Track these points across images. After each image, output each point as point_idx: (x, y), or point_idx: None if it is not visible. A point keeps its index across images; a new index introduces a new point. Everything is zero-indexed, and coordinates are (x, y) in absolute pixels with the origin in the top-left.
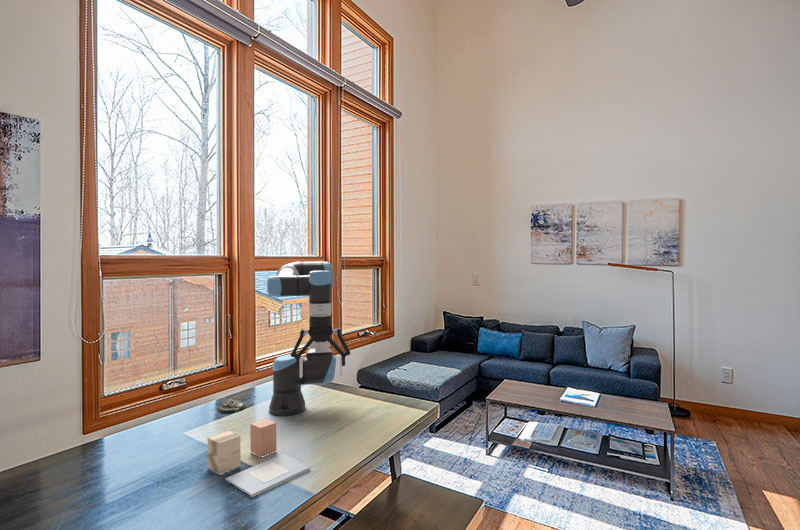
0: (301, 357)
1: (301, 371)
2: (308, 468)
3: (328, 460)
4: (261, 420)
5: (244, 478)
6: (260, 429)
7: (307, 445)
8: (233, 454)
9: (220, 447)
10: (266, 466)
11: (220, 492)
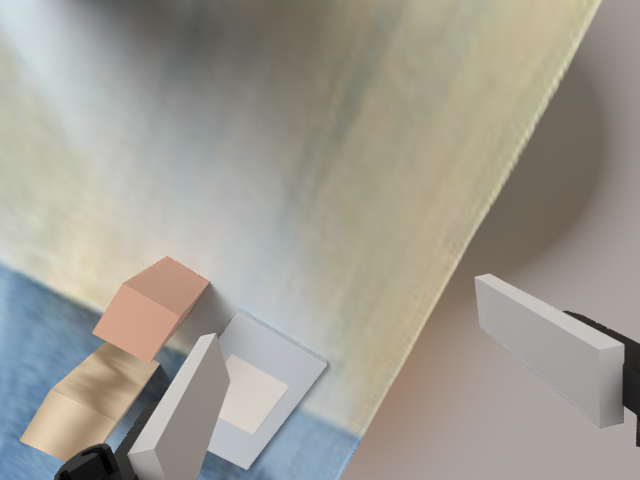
0: (148, 464)
1: (216, 414)
2: (324, 367)
3: (357, 313)
4: (116, 302)
5: None
6: (151, 360)
7: (280, 237)
8: (131, 403)
9: None
10: None
11: None
